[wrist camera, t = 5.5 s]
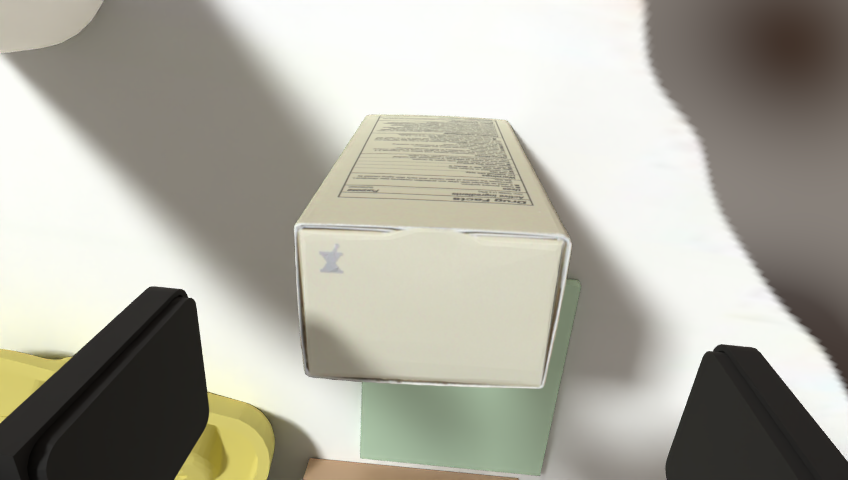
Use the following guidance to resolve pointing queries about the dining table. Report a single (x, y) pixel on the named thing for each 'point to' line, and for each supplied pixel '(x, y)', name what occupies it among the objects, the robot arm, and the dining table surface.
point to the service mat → (467, 417)
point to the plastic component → (214, 451)
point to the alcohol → (42, 22)
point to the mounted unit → (381, 472)
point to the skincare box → (431, 259)
